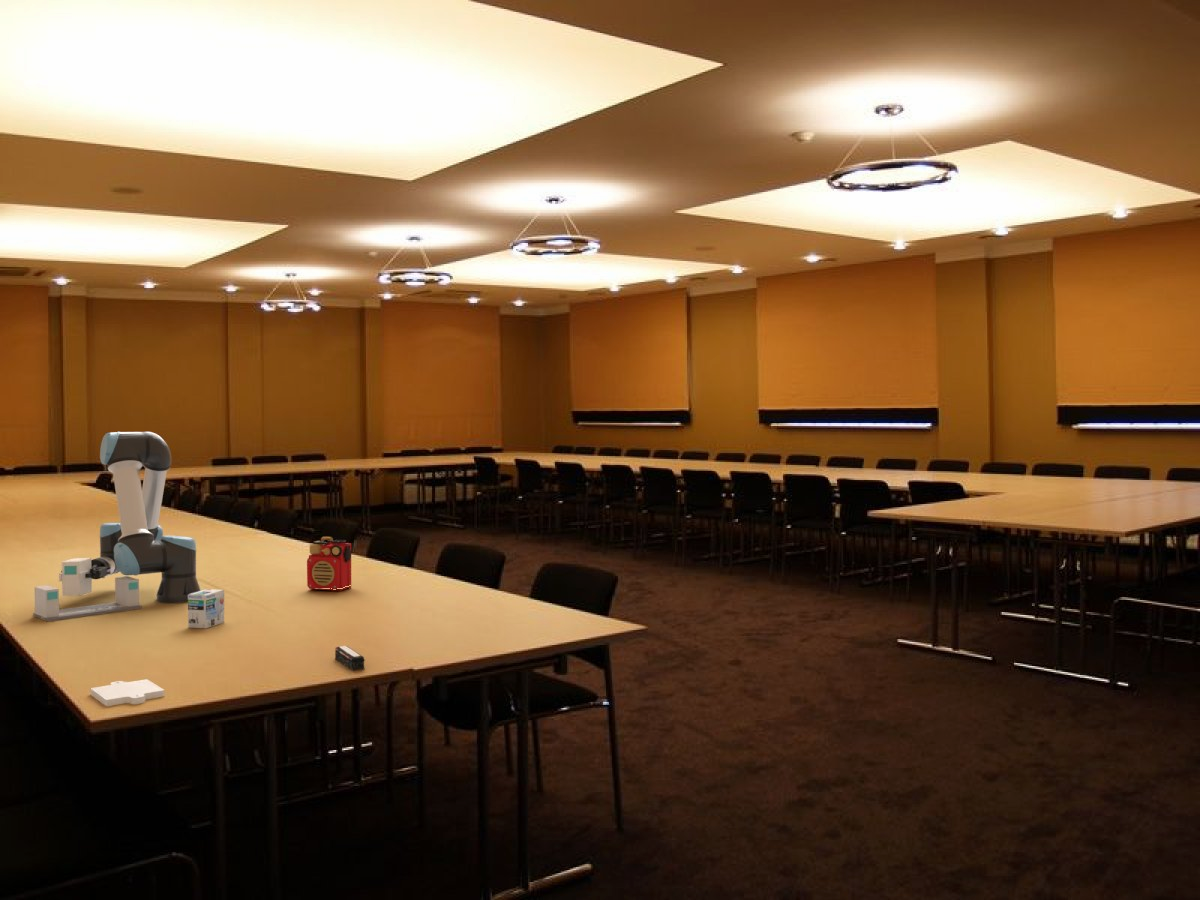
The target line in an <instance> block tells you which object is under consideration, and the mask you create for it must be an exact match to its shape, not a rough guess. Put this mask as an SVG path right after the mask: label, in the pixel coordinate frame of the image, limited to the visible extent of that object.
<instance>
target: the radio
mask: <svg viewBox="0 0 1200 900" xmlns="http://www.w3.org/2000/svg"><path fill="white" fill-rule="evenodd" d="M326 541H327V542H326ZM309 553H310V554H309V555H308V558H307V560H306V585H307V588H308V589H309V590H314V591H315V590H317V589H314V588H330V589H319V591H321V590H323V591H334V590H333V589H336V590H335V592H336V591H338V592H341V591H345V590H346V589H347V588H350V589H352V543H349V542H347V540H345V539H343V540H342V539H335V540H334V538H333V537H332V536H322V537H321V538H320V540H313V542H312V543H310V544H309ZM349 585H351V586H349ZM345 586H349V587H345ZM343 587H345V588H343ZM331 588H332V589H331ZM337 588H343V589H337ZM347 590H348V589H347Z"/></svg>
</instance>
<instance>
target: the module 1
mask: <svg viewBox="0 0 1200 900" xmlns="http://www.w3.org/2000/svg"><path fill="white" fill-rule="evenodd" d="M59 610H60V590H59V588H57V587H54V586H51V585H48V584H46V585H45V584H44V585H38V586H37V585H36V586H34V613H35V614H37V615H40V616H43V617H45V618H48V617H55V616H59Z"/></svg>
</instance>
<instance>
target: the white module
mask: <svg viewBox="0 0 1200 900" xmlns="http://www.w3.org/2000/svg"><path fill="white" fill-rule="evenodd" d="M91 560H92V557H84V558H83V557H82V558H81V557H75V558H74V557H73V558H71V559H67V560H63V561H61V571H62V581H61V584H62V585H61V587H62V588H61V589H62V590H61V591H62V592H61V593H62V594H61V595H62V596H63V597H77V596H78V597H79V596H80V597H81V596H84V595H85V594H89V593H90V592H93V585H92V583H93V581H92V580H93V579H92V578H89V579H86V580H83V581H79V573H82V572H85V571H89V573H90V569H91Z"/></svg>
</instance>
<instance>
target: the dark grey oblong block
mask: <svg viewBox="0 0 1200 900" xmlns="http://www.w3.org/2000/svg"><path fill="white" fill-rule="evenodd" d="M334 649H335V650H334V651H335V652H334V653H335V655H334V660H336V661H337V662H339V663H341V664H342V665H343V666H344V667H346V669H347V668H348V670H350V671H352V672H355V671H363V670H365V660H366V659H365V656H363V655H361V654H360V653H358V652H357V651H356V650H354V649H352V648H351V647H349V646H348V645H342V646H337V647H335V648H334Z"/></svg>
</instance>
